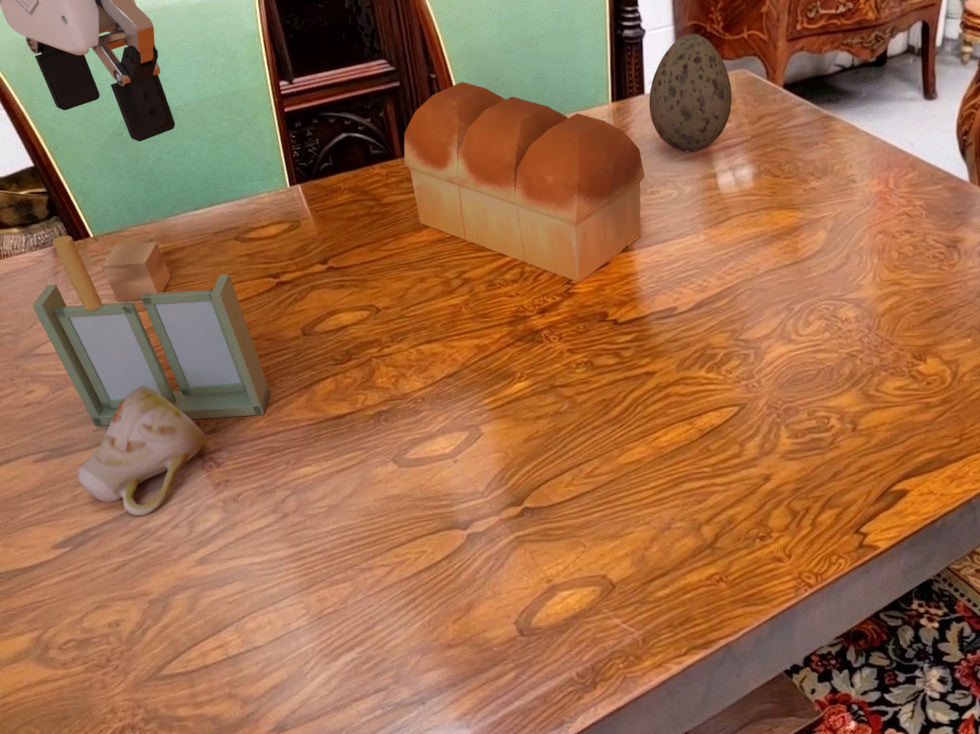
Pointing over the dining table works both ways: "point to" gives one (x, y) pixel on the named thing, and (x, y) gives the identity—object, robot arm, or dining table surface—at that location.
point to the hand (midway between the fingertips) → (116, 118)
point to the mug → (141, 450)
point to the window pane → (108, 337)
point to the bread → (524, 179)
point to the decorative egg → (690, 94)
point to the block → (136, 270)
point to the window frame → (182, 352)
